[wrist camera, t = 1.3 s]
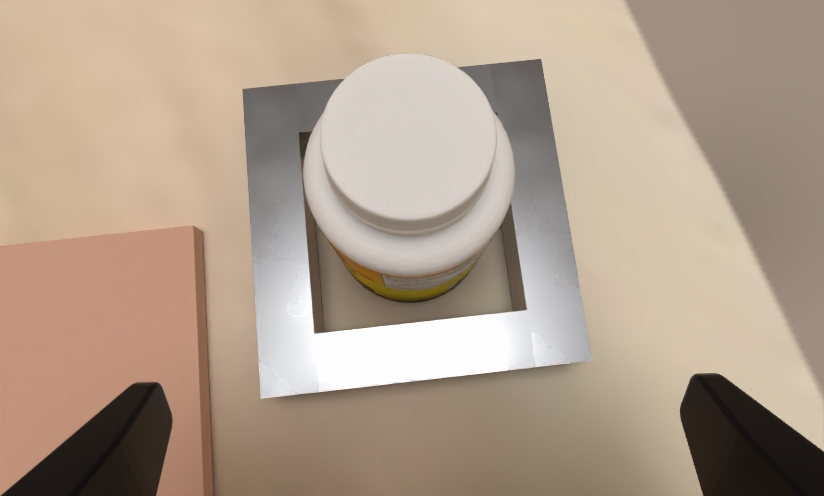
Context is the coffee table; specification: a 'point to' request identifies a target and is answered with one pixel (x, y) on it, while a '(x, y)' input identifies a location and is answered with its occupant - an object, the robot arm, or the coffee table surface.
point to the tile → (104, 344)
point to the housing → (422, 341)
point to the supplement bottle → (409, 175)
